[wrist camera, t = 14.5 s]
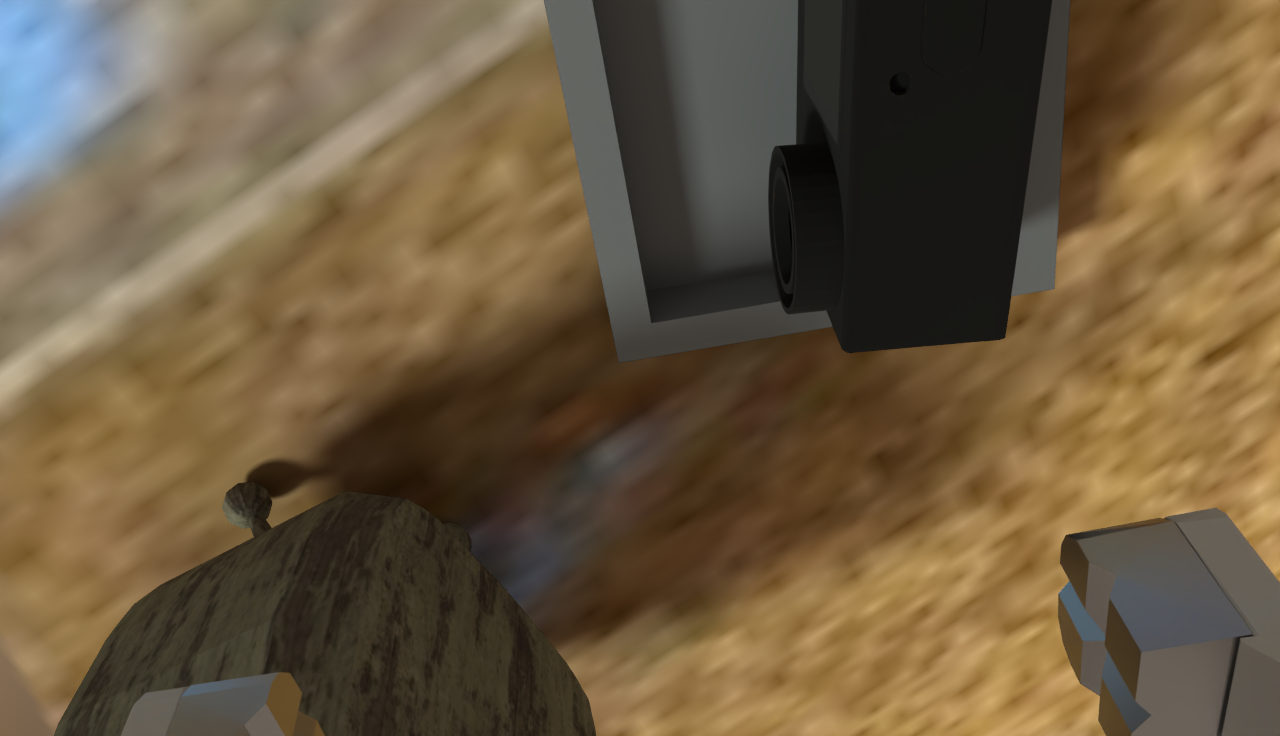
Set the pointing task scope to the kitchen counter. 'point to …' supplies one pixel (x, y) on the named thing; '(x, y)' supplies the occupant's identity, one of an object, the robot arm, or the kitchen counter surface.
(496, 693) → the tabletop clock
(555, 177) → the kitchen counter surface
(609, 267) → the tray
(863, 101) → the digital camera
